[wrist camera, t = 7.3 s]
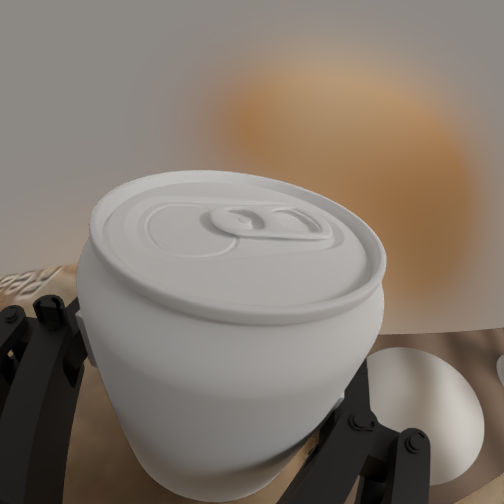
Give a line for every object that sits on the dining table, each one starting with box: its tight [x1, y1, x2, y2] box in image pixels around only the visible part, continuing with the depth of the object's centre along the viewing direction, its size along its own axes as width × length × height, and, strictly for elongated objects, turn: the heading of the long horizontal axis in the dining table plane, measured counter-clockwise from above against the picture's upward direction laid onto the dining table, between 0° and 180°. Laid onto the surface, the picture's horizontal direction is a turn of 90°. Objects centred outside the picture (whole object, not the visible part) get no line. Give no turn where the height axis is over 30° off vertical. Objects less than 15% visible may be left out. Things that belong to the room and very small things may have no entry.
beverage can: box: [76, 170, 386, 502], centre depth 10 cm, size 8×8×12 cm
